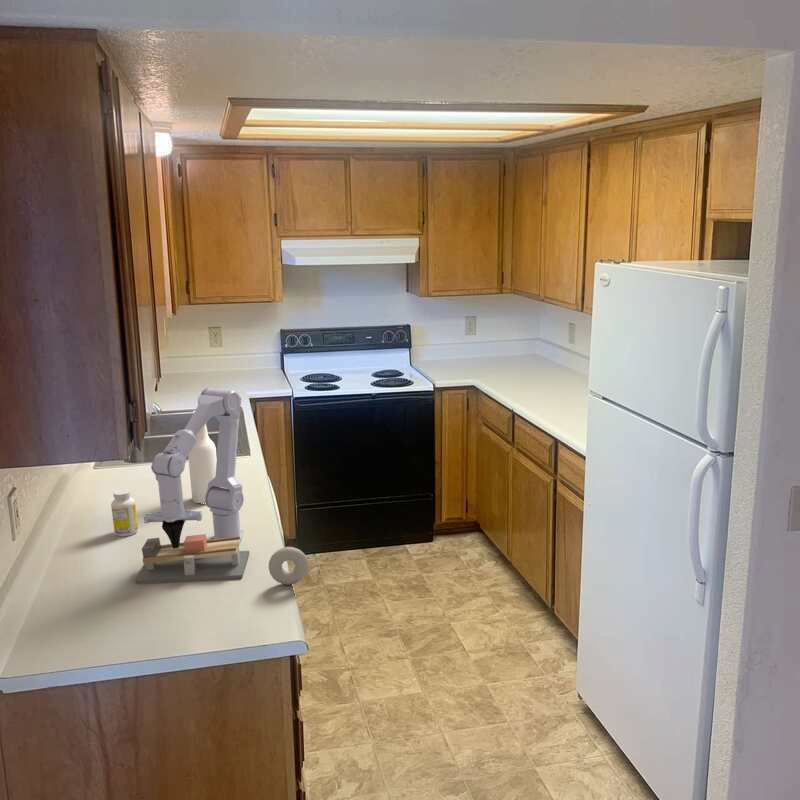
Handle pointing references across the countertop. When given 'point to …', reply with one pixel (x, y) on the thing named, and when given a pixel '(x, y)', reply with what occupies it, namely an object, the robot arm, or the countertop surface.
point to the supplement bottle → (124, 513)
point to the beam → (167, 553)
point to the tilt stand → (195, 569)
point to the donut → (290, 555)
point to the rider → (195, 543)
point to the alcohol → (202, 465)
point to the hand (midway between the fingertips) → (176, 546)
